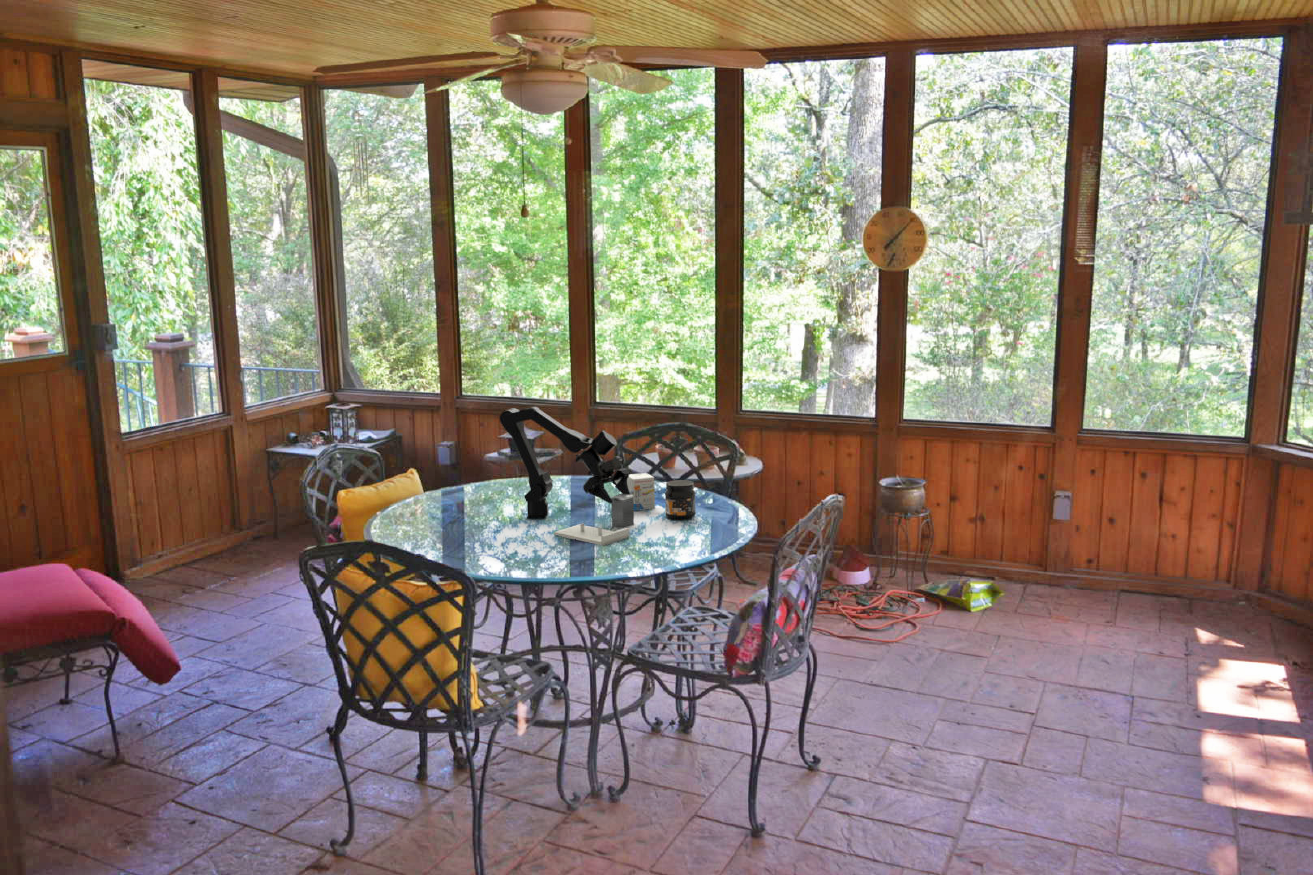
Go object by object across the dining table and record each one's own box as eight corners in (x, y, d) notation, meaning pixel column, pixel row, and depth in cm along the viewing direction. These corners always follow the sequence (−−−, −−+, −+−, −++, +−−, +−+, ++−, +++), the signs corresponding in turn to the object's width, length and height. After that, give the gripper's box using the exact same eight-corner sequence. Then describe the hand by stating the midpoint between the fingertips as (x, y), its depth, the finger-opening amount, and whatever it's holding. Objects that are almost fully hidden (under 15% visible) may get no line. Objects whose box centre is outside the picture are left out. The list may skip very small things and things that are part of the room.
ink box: (633, 511, 378) (632, 478, 376) (624, 506, 386) (624, 474, 384) (655, 508, 381) (655, 476, 379) (647, 503, 389) (646, 472, 387)
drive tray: (554, 534, 349) (553, 524, 348) (579, 527, 358) (579, 517, 357) (604, 545, 335) (603, 534, 334) (629, 537, 344) (629, 526, 343)
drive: (611, 525, 359) (611, 496, 357) (622, 522, 363) (621, 493, 361) (623, 527, 356) (622, 498, 354) (633, 524, 360) (633, 495, 358)
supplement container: (660, 519, 367) (659, 484, 365) (672, 512, 376) (672, 478, 374) (688, 521, 362) (688, 487, 360) (700, 514, 372) (700, 480, 370)
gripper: (588, 454, 352) (614, 490, 347) (625, 445, 366) (650, 480, 361) (571, 474, 358) (597, 511, 353) (608, 465, 372) (633, 500, 367)
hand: (620, 500), depth 359 cm, fingers open, 9 cm apart
